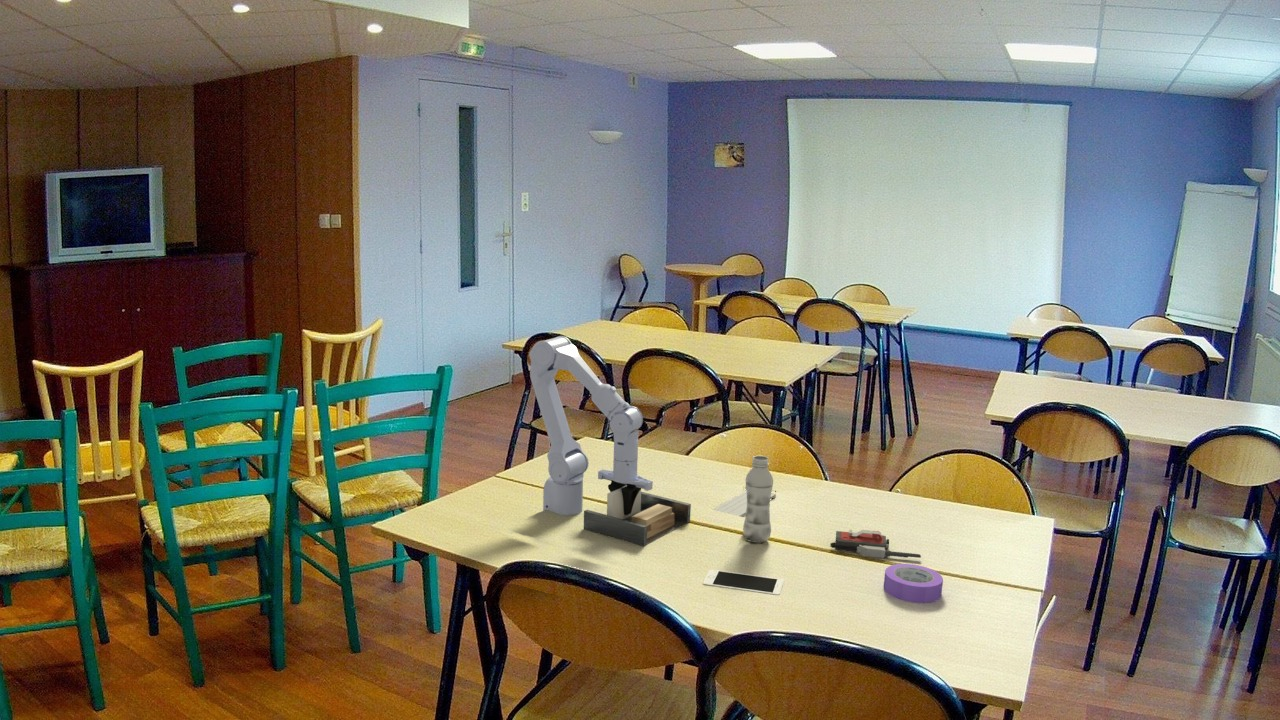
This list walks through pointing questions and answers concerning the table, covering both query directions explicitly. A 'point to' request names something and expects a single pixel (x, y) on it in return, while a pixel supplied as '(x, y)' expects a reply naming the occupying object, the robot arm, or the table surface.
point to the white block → (621, 504)
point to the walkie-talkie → (866, 544)
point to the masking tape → (913, 583)
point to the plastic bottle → (758, 501)
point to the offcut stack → (655, 519)
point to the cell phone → (744, 582)
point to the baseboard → (736, 505)
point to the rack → (636, 531)
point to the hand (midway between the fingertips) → (624, 512)
